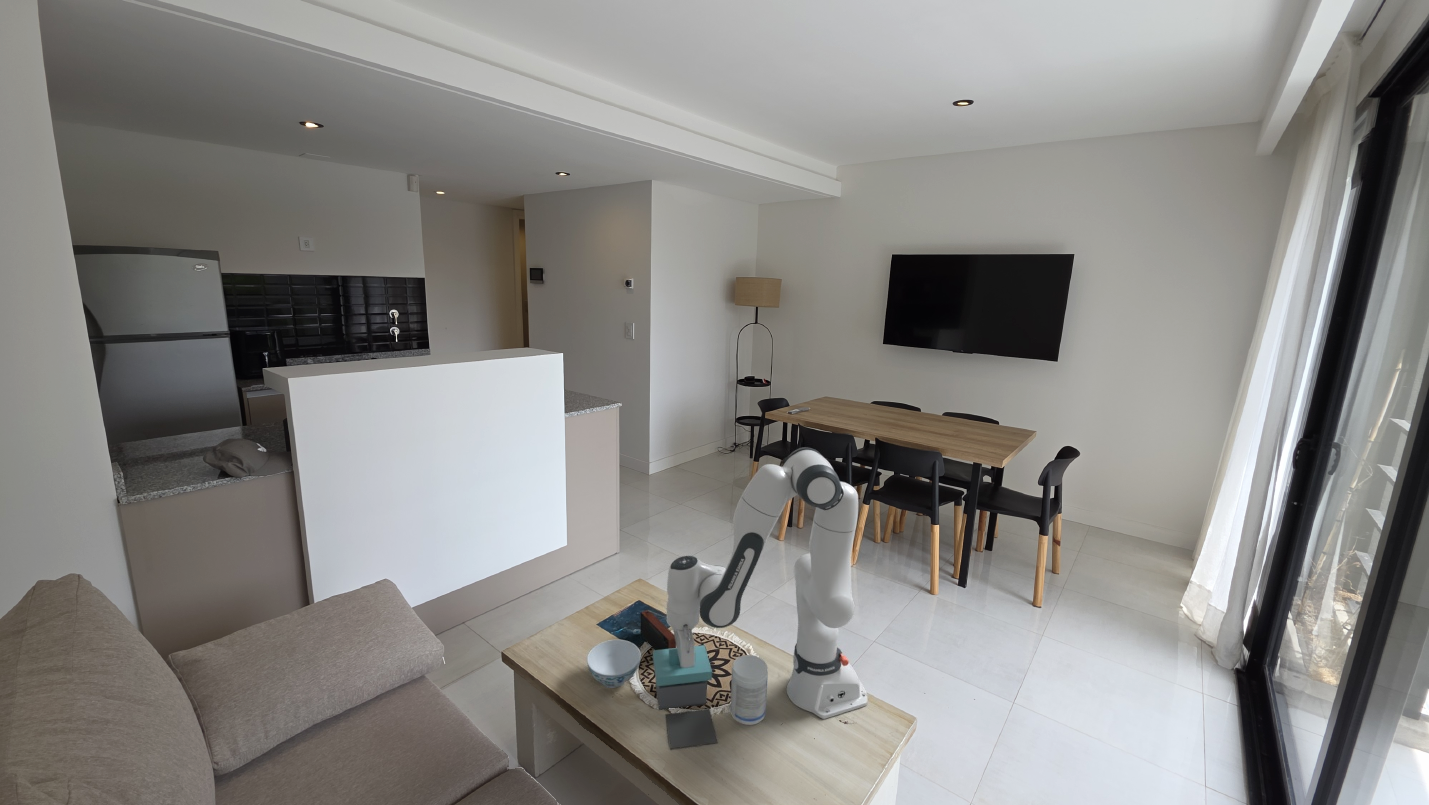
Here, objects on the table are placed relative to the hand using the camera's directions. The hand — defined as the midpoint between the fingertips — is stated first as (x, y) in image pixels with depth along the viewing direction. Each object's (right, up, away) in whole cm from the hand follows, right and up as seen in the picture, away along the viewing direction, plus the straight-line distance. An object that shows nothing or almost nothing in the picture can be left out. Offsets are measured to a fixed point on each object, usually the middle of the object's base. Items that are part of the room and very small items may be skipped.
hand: (681, 658), depth 156 cm
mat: (+3, -14, -8) cm, 17 cm away
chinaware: (-20, -10, +8) cm, 24 cm away
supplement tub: (+18, -14, -2) cm, 23 cm away
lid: (0, -3, +1) cm, 3 cm away
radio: (-8, -7, +21) cm, 24 cm away
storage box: (-1, -12, +3) cm, 12 cm away
